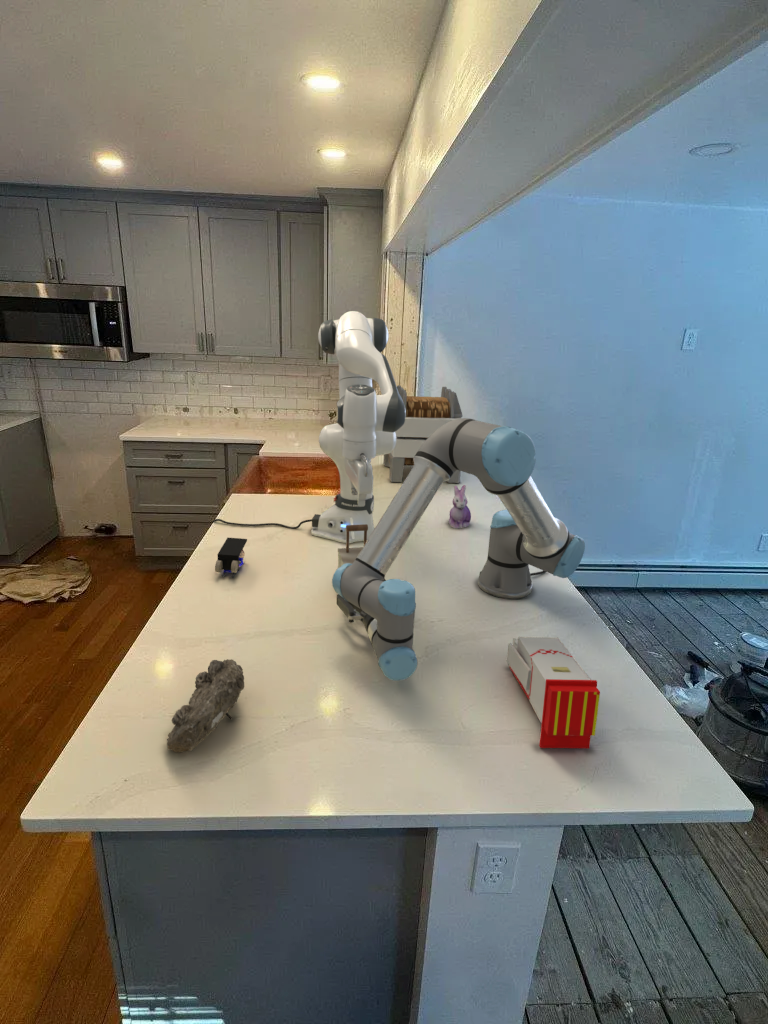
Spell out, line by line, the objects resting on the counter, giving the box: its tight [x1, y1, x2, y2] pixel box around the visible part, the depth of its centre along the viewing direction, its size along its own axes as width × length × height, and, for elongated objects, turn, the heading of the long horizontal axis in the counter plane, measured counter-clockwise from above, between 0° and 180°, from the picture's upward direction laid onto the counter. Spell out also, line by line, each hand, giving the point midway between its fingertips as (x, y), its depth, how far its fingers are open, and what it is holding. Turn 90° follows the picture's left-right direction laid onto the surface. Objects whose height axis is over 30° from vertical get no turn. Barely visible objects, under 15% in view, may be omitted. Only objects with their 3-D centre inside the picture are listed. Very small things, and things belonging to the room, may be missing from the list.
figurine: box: [448, 484, 472, 529], centre depth 208 cm, size 9×10×15 cm
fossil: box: [166, 658, 245, 754], centre depth 106 cm, size 22×10×15 cm
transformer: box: [383, 384, 463, 484], centre depth 268 cm, size 34×33×41 cm
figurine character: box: [214, 537, 248, 578], centre depth 166 cm, size 7×8×15 cm
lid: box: [337, 524, 368, 564], centre depth 150 cm, size 18×9×9 cm, turn 13°
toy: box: [505, 636, 601, 749], centre depth 115 cm, size 12×13×30 cm
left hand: (357, 499), depth 152 cm, fingers open, 8 cm apart
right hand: (363, 583), depth 148 cm, fingers closed on chest, 9 cm apart
